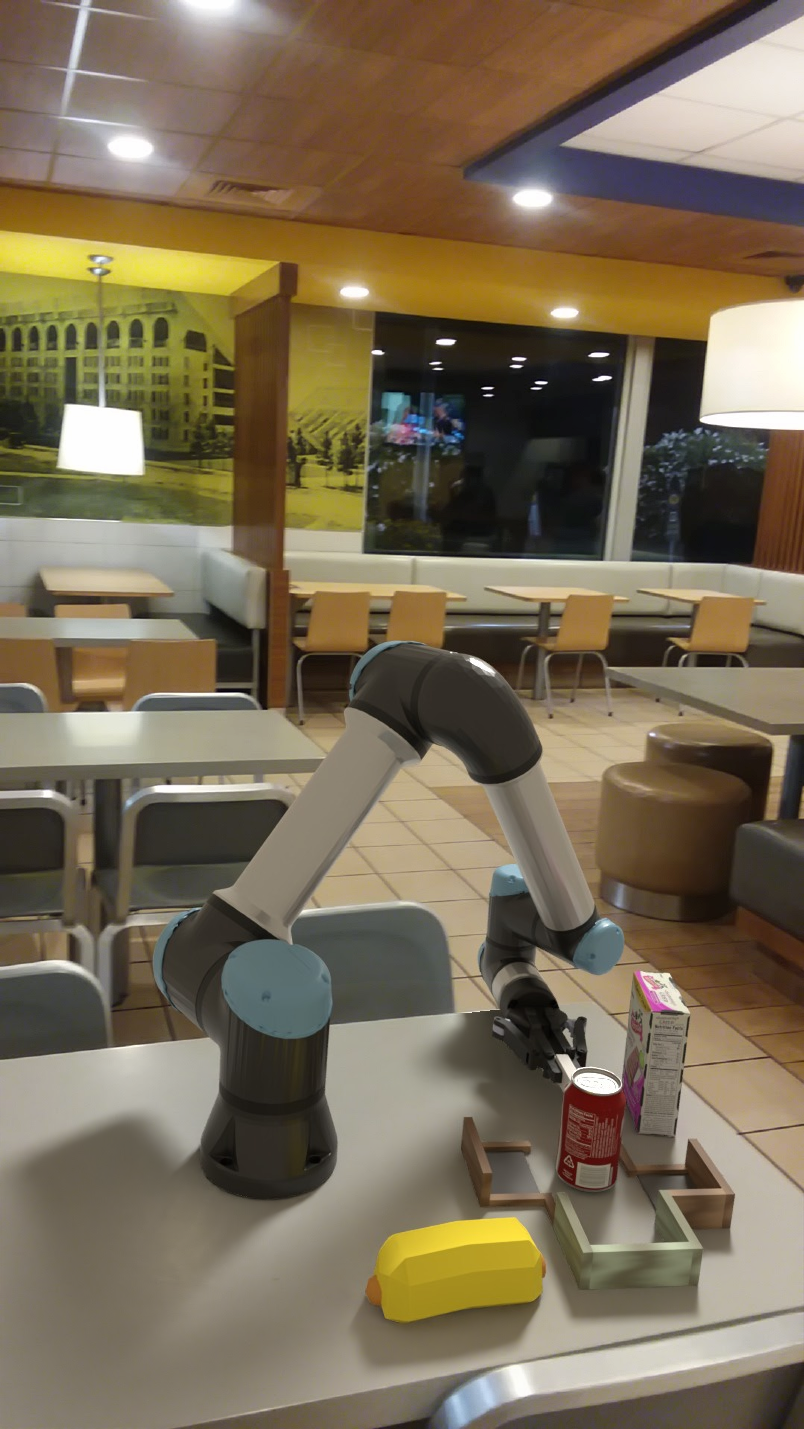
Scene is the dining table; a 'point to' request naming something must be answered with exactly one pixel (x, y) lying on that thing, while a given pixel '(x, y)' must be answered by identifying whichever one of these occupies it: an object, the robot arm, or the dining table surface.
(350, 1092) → the dining table surface
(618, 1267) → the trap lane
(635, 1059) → the candy bar box
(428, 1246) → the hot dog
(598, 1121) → the soda can
